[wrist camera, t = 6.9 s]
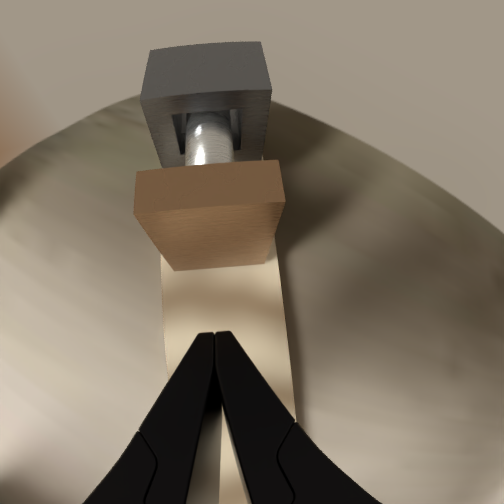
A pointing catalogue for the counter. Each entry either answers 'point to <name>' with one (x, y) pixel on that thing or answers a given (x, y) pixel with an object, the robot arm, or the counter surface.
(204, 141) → the wooden block with shaft
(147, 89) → the bearing block
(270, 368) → the birch base plate
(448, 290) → the counter surface
